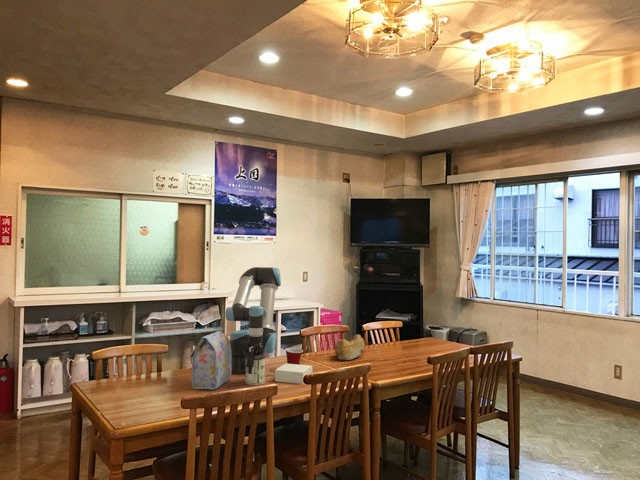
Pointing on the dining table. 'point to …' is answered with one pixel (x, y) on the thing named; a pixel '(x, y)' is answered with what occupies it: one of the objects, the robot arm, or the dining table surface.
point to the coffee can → (257, 370)
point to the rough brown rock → (349, 348)
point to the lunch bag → (211, 361)
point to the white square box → (292, 373)
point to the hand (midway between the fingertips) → (254, 377)
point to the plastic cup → (293, 355)
